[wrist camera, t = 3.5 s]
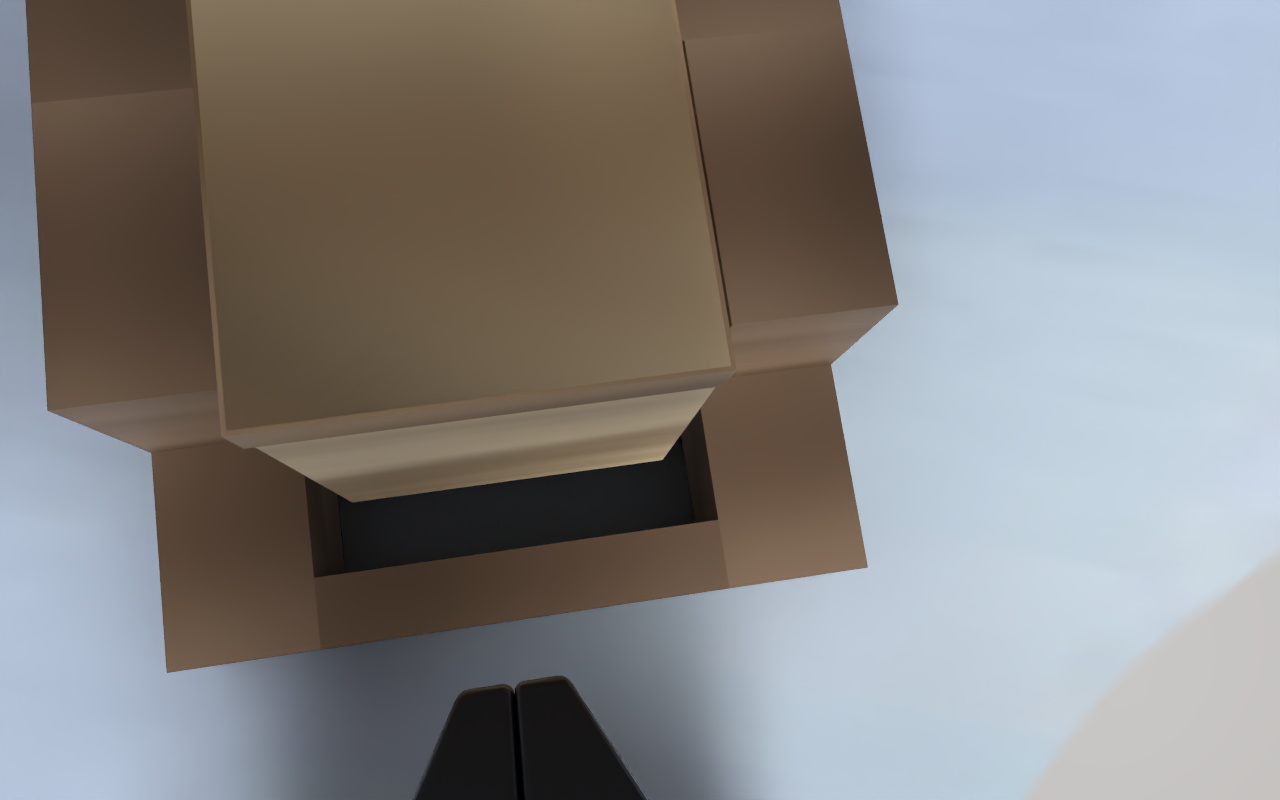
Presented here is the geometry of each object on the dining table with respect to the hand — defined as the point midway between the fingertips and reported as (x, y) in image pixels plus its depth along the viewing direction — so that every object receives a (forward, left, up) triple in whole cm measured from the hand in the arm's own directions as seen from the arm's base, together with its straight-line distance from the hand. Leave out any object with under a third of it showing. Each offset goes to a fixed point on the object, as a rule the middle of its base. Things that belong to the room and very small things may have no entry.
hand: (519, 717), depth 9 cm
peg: (+5, +3, -9) cm, 10 cm away
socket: (+5, +3, -13) cm, 14 cm away
